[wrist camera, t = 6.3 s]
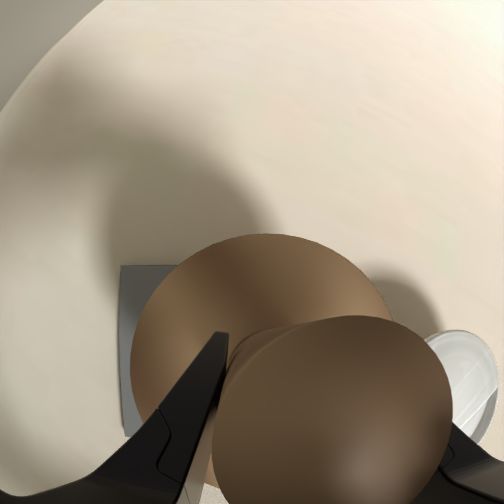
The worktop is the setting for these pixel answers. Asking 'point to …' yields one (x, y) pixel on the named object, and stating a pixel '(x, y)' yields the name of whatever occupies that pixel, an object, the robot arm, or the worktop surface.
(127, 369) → the rubber mat
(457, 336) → the ramekin
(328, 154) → the worktop surface
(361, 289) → the walnut lid
